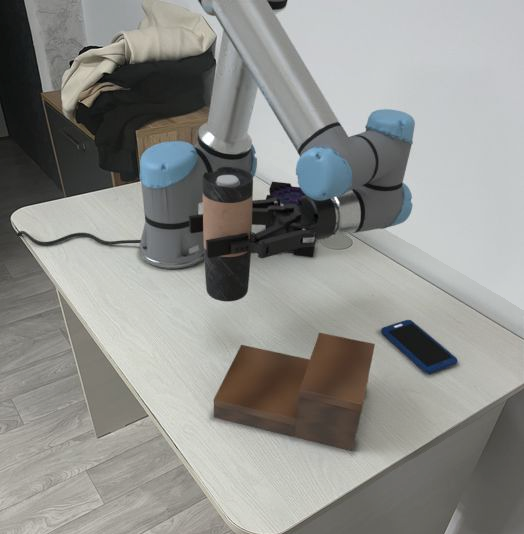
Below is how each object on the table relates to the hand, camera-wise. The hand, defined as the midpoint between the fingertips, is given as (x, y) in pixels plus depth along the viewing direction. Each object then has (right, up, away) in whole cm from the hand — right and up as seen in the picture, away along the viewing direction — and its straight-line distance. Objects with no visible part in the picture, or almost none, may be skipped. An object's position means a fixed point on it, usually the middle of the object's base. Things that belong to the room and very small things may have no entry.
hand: (198, 236), depth 83 cm
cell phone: (+39, -17, +17) cm, 46 cm away
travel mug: (+4, -7, +9) cm, 12 cm away
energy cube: (+17, +8, +46) cm, 50 cm away
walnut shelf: (+15, -26, +5) cm, 30 cm away
